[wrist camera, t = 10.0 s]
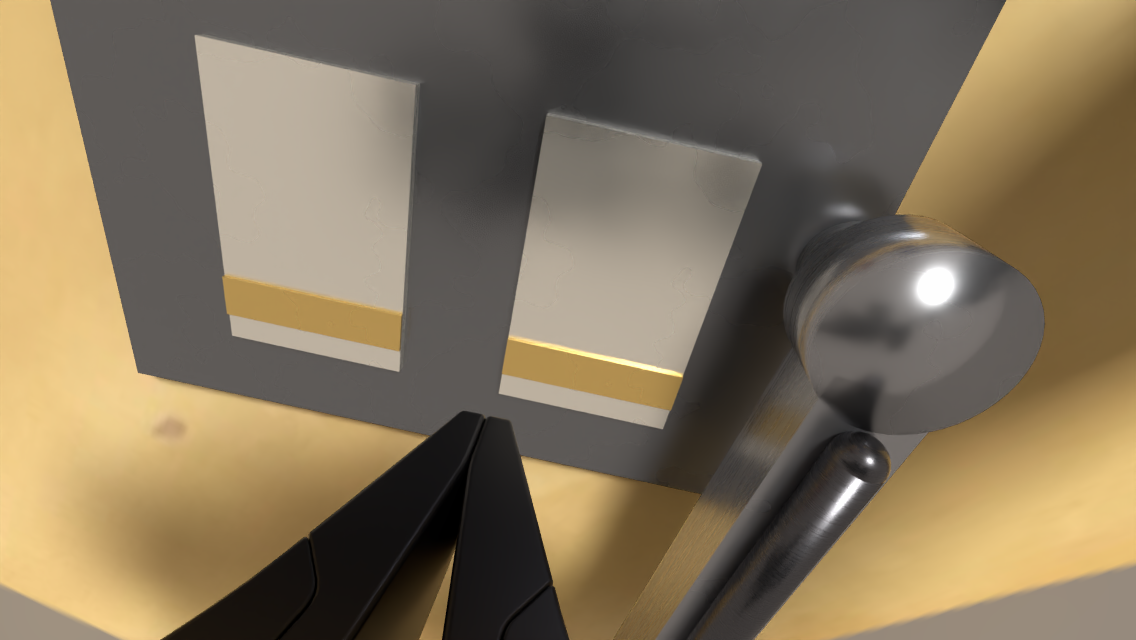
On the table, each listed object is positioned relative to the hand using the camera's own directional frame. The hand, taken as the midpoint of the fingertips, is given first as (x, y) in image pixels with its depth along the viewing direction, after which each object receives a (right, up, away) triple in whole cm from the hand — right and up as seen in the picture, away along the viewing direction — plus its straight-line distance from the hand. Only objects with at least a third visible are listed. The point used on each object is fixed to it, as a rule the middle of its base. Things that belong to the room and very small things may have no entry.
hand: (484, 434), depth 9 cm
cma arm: (+6, -4, +7) cm, 10 cm away
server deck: (-1, +6, +5) cm, 8 cm away
